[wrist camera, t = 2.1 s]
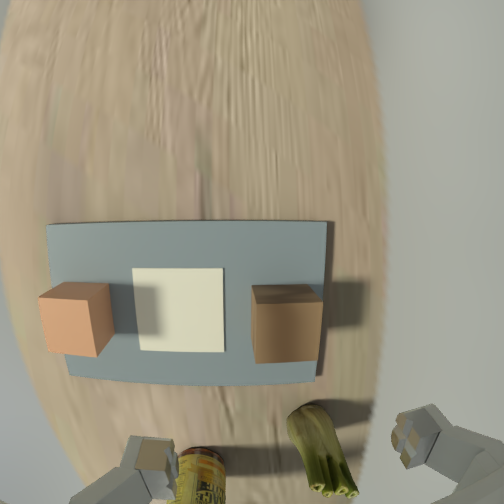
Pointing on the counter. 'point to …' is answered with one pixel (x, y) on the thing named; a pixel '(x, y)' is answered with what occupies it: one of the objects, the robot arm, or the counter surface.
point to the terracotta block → (77, 318)
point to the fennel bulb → (320, 451)
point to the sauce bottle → (200, 478)
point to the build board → (187, 294)
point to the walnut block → (285, 323)
